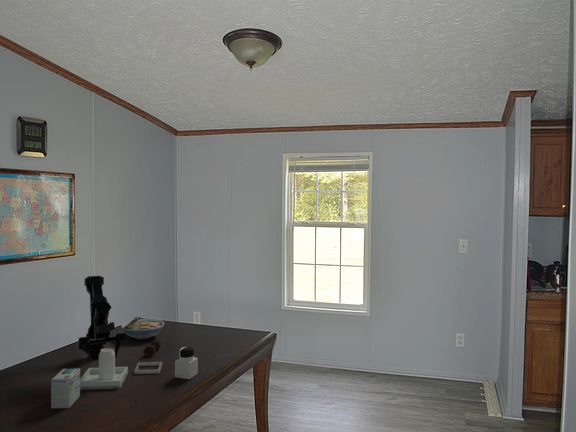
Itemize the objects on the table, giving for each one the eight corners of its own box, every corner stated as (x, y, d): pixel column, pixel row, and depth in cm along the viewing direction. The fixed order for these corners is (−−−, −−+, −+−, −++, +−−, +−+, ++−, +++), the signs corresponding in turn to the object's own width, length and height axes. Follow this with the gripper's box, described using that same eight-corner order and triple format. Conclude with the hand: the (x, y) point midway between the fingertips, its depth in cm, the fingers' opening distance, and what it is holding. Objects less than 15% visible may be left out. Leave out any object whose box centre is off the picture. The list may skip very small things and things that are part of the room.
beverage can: (95, 379, 190) (95, 350, 190) (106, 374, 196) (106, 346, 196) (107, 382, 188) (107, 352, 188) (118, 377, 194) (118, 348, 194)
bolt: (159, 350, 238) (150, 359, 223) (150, 345, 238) (141, 354, 223) (165, 340, 238) (156, 349, 223) (156, 335, 238) (147, 343, 223)
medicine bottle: (197, 374, 202) (198, 346, 202) (189, 379, 195) (189, 351, 195) (183, 371, 204) (183, 344, 204) (174, 377, 197) (174, 349, 197)
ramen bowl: (157, 345, 241) (157, 329, 241) (113, 344, 242) (113, 328, 241) (169, 331, 266) (170, 317, 266) (130, 330, 267) (130, 316, 266)
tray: (77, 389, 183) (77, 382, 183) (88, 374, 198) (88, 367, 198) (120, 388, 185) (120, 380, 185) (127, 373, 201) (128, 366, 201)
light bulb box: (62, 396, 177) (62, 368, 176) (80, 396, 177) (80, 367, 177) (50, 408, 166) (50, 378, 166) (70, 408, 167) (70, 378, 166)
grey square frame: (133, 374, 200) (133, 370, 200) (138, 365, 210) (138, 362, 210) (159, 373, 202) (159, 370, 202) (162, 365, 212) (162, 361, 212)
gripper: (78, 318, 191) (80, 352, 182) (126, 313, 200) (130, 346, 191) (77, 332, 199) (78, 366, 189) (123, 327, 207) (126, 359, 198)
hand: (104, 359), depth 192 cm, fingers open, 9 cm apart
